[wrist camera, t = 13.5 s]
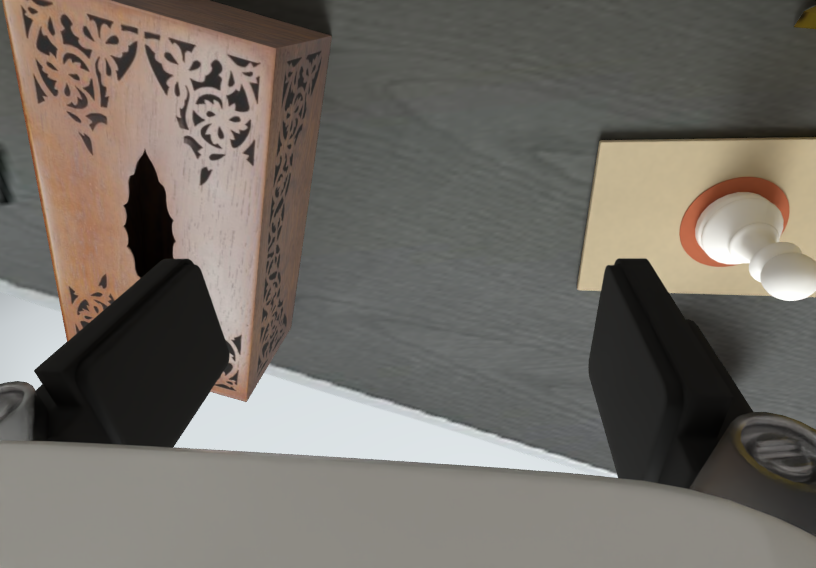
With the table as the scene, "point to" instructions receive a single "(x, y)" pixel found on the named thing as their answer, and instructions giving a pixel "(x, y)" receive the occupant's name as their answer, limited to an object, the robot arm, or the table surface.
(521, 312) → the table surface
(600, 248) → the mat
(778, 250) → the chess pawn
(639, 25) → the table surface
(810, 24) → the vintage telephone
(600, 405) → the robot arm
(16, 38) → the tissue box cover
